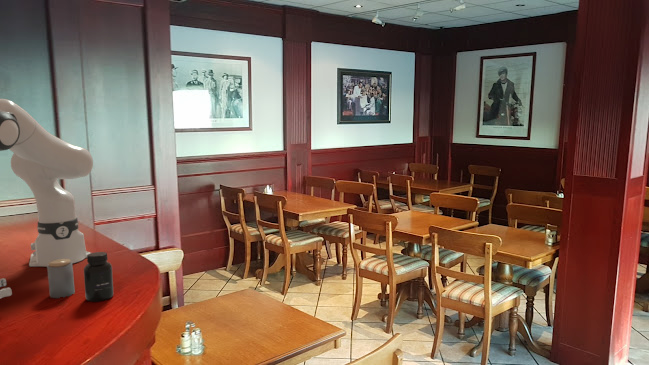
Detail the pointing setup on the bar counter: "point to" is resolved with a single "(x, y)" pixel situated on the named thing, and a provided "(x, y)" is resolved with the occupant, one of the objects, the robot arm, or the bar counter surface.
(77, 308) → the bar counter surface
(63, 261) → the sugar jar
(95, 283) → the supplement bottle
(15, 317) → the bar counter surface
